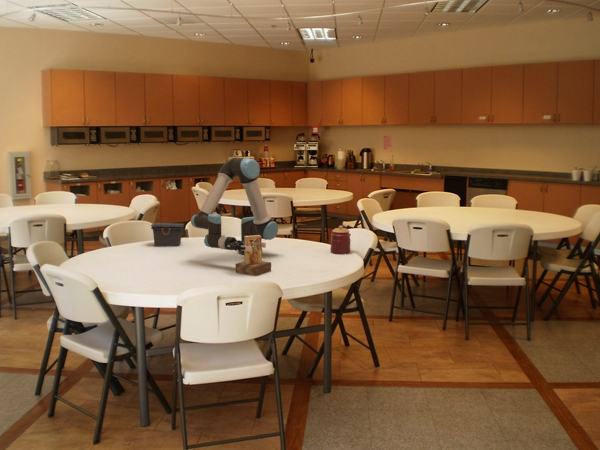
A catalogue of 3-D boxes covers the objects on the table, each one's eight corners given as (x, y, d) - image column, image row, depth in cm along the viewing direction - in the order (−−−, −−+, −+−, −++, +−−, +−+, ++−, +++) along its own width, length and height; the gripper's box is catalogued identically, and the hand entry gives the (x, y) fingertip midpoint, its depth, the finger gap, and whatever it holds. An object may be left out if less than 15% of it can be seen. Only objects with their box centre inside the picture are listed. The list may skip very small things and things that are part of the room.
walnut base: (235, 272, 348) (235, 263, 347) (251, 267, 359) (251, 259, 358) (256, 275, 340) (256, 266, 339) (271, 271, 352) (271, 262, 351)
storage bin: (184, 243, 433) (184, 222, 430) (182, 247, 417) (182, 226, 415) (153, 243, 430) (152, 223, 428) (150, 248, 415) (149, 226, 413)
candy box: (259, 261, 352) (258, 234, 350) (261, 263, 349) (261, 236, 346) (244, 263, 349) (244, 235, 346) (246, 264, 345) (246, 237, 342)
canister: (327, 253, 402) (327, 226, 400) (334, 249, 414) (334, 223, 412) (346, 255, 398) (347, 227, 395) (353, 251, 409) (353, 224, 407)
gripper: (213, 239, 346) (244, 243, 335) (241, 233, 367) (271, 237, 355) (213, 253, 347) (244, 257, 336) (241, 246, 368) (271, 250, 357)
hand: (258, 247), depth 346 cm, fingers open, 13 cm apart
